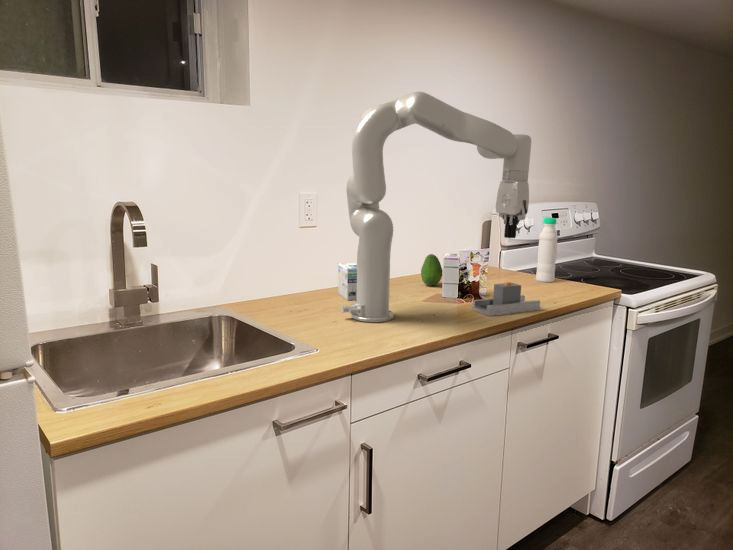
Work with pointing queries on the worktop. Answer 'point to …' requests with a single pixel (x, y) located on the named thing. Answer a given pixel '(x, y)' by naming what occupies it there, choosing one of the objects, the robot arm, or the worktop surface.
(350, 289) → the light bulb box
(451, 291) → the syrup box
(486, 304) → the rail
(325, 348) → the worktop surface
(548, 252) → the milk bottle
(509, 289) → the block
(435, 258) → the avocado
